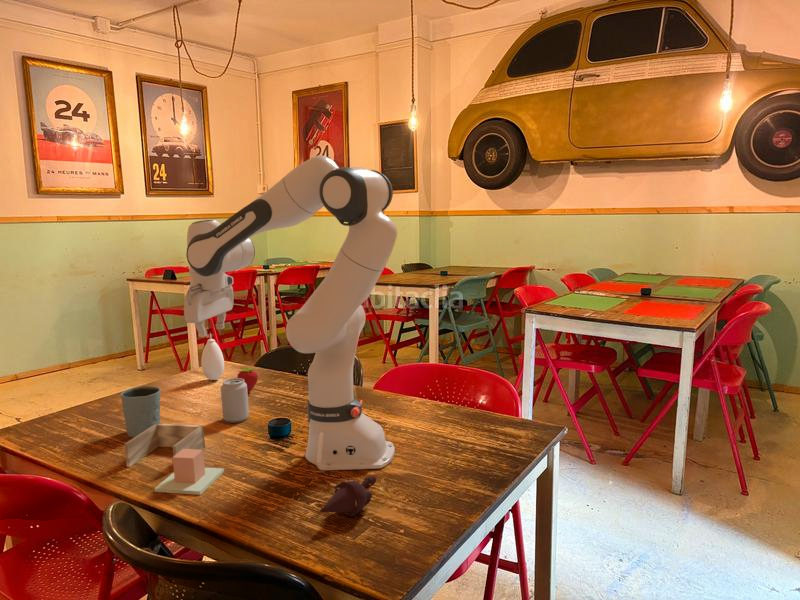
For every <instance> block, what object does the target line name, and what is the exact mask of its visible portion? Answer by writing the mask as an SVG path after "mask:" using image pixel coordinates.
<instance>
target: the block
mask: <svg viewBox="0 0 800 600" xmlns="http://www.w3.org/2000/svg"><path fill="white" fill-rule="evenodd" d="M204 456H205V454H204V449H202V450H198V449H182V450H181V451H180V452H179V453H177V454H176V455H175V456H172V465H173V473H174V477H175V482H182V483H196V482H197V481H198V480H199V479H200V478H202V477H203V476H204V475H205V466H206V465H205V457H204Z"/></svg>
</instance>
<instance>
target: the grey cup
mask: <svg viewBox="0 0 800 600" xmlns="http://www.w3.org/2000/svg"><path fill="white" fill-rule="evenodd" d="M120 399H121V404H122V410H123V415H124V416H123V418H124V422H125V429H126V435H127V436H128V437H129V438H131V437H132V438H131V439H133V438H134V437H136V436H137V435H139V434H140V433H142V432H144V431H145V430H147V429H148V428H150V427H151V426H153V425H154V424H161V388H160V387H157V386H153V385H152V386H150V385H147V386H136V387H133V388H128V389H125V390H124V391H122V392H121V393H120Z"/></svg>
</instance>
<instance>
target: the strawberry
mask: <svg viewBox="0 0 800 600" xmlns="http://www.w3.org/2000/svg"><path fill="white" fill-rule="evenodd" d="M244 366H245V368H242V370H238V373H237V377H236V378H242V379H244V382H245V383H246V384H247V393H250V392H252V390H253V389H254V387H255V386H256V385H257V383H258V379H259V376H258V373H256V371H255V369H254V368H251V367H249V368H247V366H246V365H244Z"/></svg>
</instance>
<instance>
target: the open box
mask: <svg viewBox="0 0 800 600" xmlns="http://www.w3.org/2000/svg"><path fill="white" fill-rule="evenodd" d="M204 429H205V428H204V425H196V424H194V425H193V424H176V423H175V424H173V423H172V424H169V423H160V424H154V425H153V426H151V427H150V428H148V429H147V430H145V431H144V432H142V433H140V434H139V435H137V436H136V437H134V438H131V439H130V440H128V441H127V442H125V443H124V455H125V461H126V467H127V468H130V467H132V466H133V465H136V463H138V462H140V461H141V460H142V459H143V458H145V457H146V456H148V455H149V454H150V453H152V452H153V451H155V450H156V449H157V448H159V447H162V448H163V447H164V448H165V447H168V448H172V454H173V456H172V457H174V456H175V455H176V454H177V453H179V452H180V451H181V450H182V449H198V450H204V449H205V448H206V444H205V430H204Z"/></svg>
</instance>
